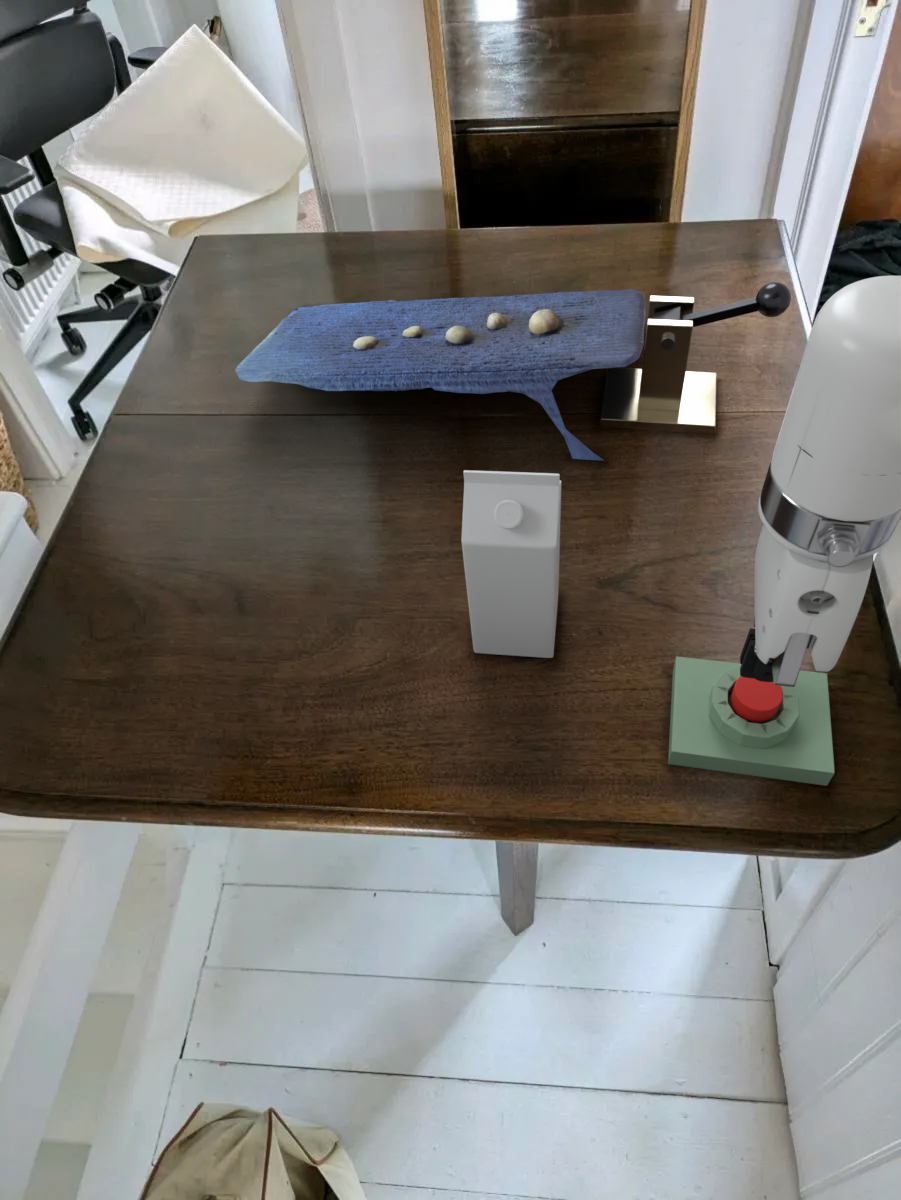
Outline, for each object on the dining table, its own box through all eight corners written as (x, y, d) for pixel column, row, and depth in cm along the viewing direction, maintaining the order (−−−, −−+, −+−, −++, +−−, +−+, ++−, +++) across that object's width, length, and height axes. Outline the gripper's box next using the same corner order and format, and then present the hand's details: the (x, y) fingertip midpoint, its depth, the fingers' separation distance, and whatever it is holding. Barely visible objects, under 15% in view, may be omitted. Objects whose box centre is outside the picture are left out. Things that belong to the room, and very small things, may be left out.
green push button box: (820, 687, 71) (833, 661, 68) (827, 786, 66) (841, 762, 63) (672, 670, 73) (678, 643, 70) (668, 764, 68) (674, 740, 65)
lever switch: (792, 299, 83) (787, 271, 81) (793, 319, 81) (789, 290, 79) (659, 332, 89) (652, 307, 87) (658, 351, 87) (650, 325, 85)
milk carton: (482, 591, 80) (469, 438, 65) (558, 596, 79) (562, 441, 64) (473, 654, 76) (457, 505, 61) (553, 659, 75) (556, 510, 60)
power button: (777, 685, 67) (782, 674, 66) (779, 725, 65) (784, 714, 64) (730, 680, 68) (734, 668, 67) (730, 719, 66) (734, 708, 65)
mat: (241, 467, 97) (214, 370, 90) (312, 375, 119) (295, 291, 112) (644, 460, 88) (648, 351, 81) (642, 362, 110) (644, 270, 103)
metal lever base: (714, 381, 96) (733, 287, 87) (713, 434, 91) (733, 340, 81) (607, 375, 98) (614, 282, 89) (600, 427, 93) (606, 334, 83)
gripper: (918, 607, 44) (820, 768, 58) (887, 415, 52) (809, 597, 67) (765, 591, 45) (707, 753, 59) (760, 406, 54) (710, 586, 68)
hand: (761, 670), depth 63 cm, fingers closed
